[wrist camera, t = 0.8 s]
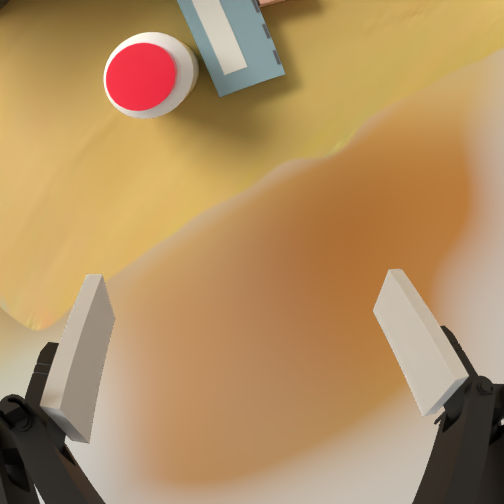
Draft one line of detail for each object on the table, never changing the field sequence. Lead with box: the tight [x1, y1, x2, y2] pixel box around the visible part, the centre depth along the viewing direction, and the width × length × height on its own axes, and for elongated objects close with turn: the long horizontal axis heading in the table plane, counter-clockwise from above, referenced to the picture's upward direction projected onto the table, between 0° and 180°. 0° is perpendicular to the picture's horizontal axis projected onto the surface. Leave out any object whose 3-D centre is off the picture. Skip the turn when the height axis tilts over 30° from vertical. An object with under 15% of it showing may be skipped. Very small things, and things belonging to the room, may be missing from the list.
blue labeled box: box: [177, 0, 285, 97], centre depth 25 cm, size 16×7×3 cm, turn 20°
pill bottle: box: [103, 32, 199, 119], centre depth 24 cm, size 8×8×11 cm
